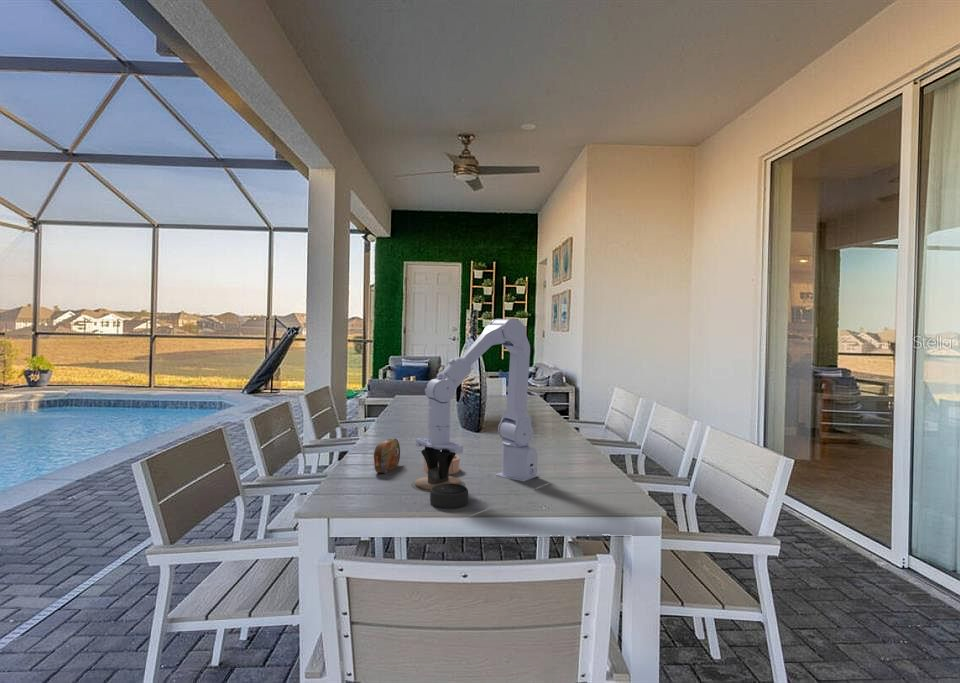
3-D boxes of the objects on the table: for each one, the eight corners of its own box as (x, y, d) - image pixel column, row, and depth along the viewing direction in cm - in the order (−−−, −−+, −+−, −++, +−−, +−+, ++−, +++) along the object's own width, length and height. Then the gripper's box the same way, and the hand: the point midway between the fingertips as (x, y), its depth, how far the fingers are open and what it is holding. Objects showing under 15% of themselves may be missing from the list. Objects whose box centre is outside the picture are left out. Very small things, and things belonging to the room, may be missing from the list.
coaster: (475, 484, 150) (475, 483, 150) (441, 496, 139) (441, 495, 139) (435, 475, 158) (435, 474, 158) (399, 486, 147) (399, 485, 147)
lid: (470, 483, 150) (470, 467, 150) (440, 494, 140) (441, 477, 140) (436, 476, 157) (436, 460, 157) (405, 485, 147) (405, 469, 147)
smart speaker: (427, 500, 137) (427, 483, 136) (463, 498, 139) (464, 481, 138) (432, 512, 128) (433, 494, 128) (471, 509, 130) (471, 492, 130)
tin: (382, 477, 156) (382, 446, 156) (371, 476, 157) (372, 445, 157) (400, 464, 171) (401, 436, 171) (391, 463, 172) (391, 435, 171)
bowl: (466, 470, 164) (466, 456, 164) (443, 477, 156) (444, 463, 156) (439, 465, 170) (440, 451, 170) (417, 471, 162) (417, 457, 162)
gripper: (408, 423, 149) (407, 475, 149) (450, 430, 140) (449, 485, 141) (426, 420, 155) (425, 470, 155) (468, 426, 146) (467, 479, 146)
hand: (438, 477), depth 148 cm, fingers closed on lid, 3 cm apart
